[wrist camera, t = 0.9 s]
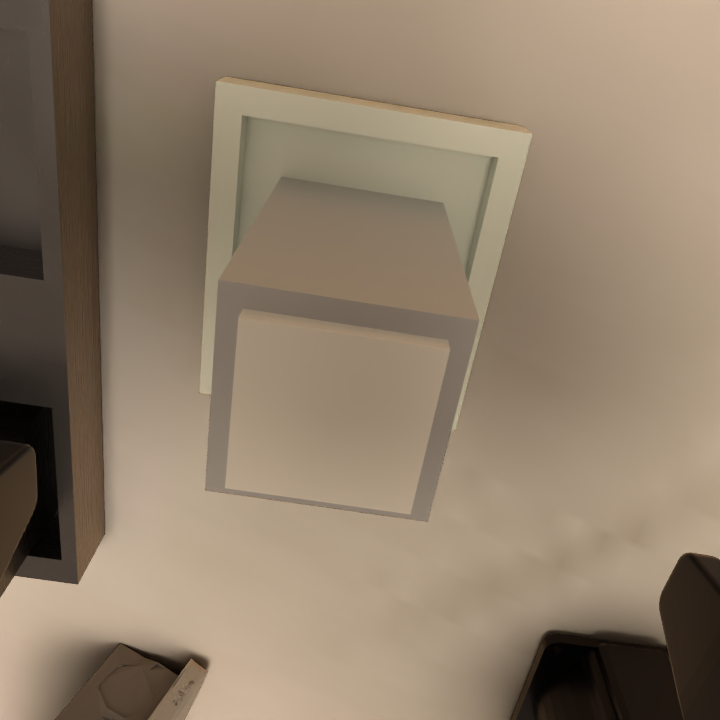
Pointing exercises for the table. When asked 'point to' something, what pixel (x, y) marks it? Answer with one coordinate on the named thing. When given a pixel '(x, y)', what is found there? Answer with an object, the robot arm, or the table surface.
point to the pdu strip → (51, 280)
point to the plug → (339, 352)
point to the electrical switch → (135, 690)
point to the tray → (358, 174)
